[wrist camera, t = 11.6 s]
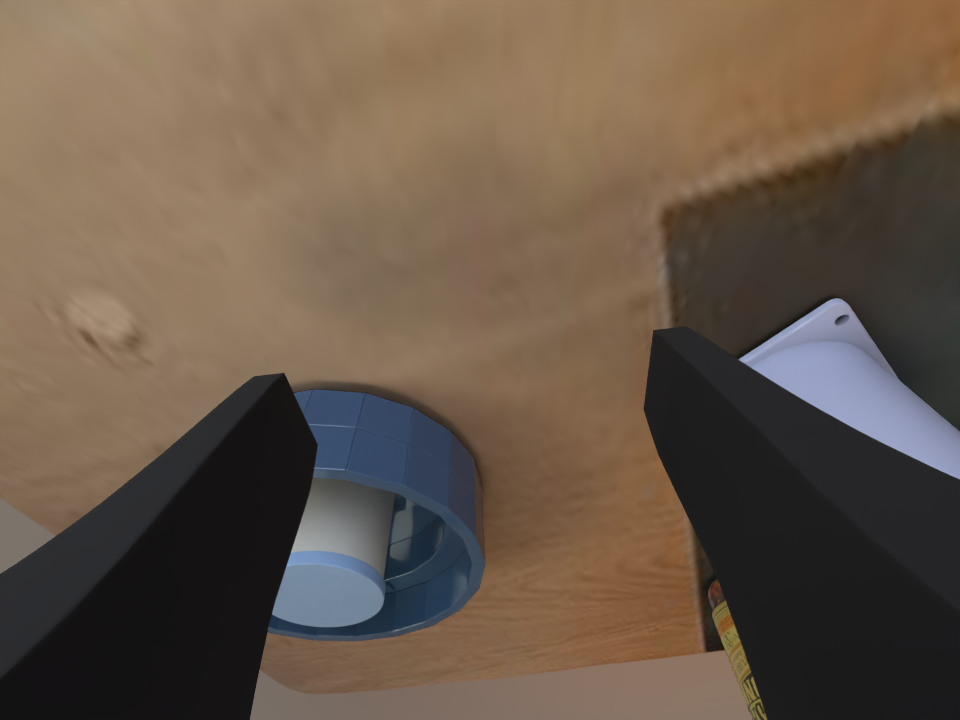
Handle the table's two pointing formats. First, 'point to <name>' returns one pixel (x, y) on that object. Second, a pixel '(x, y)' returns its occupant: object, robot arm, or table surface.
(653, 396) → the robot arm
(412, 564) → the bowl
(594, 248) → the table surface
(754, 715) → the sauce bottle
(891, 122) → the table surface
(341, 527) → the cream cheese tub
